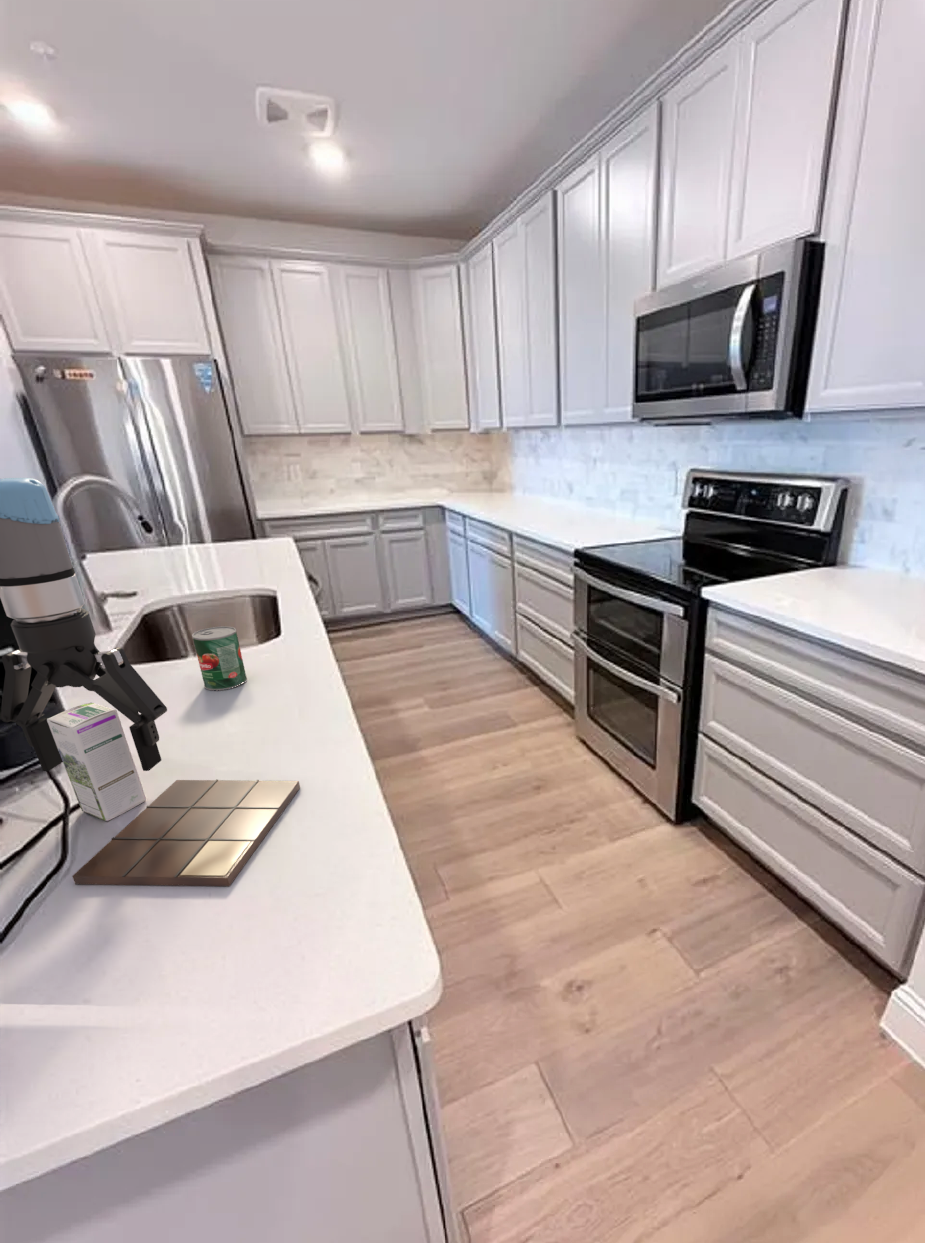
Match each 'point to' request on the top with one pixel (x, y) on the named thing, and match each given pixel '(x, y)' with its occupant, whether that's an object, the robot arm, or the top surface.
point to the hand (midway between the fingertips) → (103, 765)
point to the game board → (191, 835)
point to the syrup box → (97, 760)
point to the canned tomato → (219, 657)
